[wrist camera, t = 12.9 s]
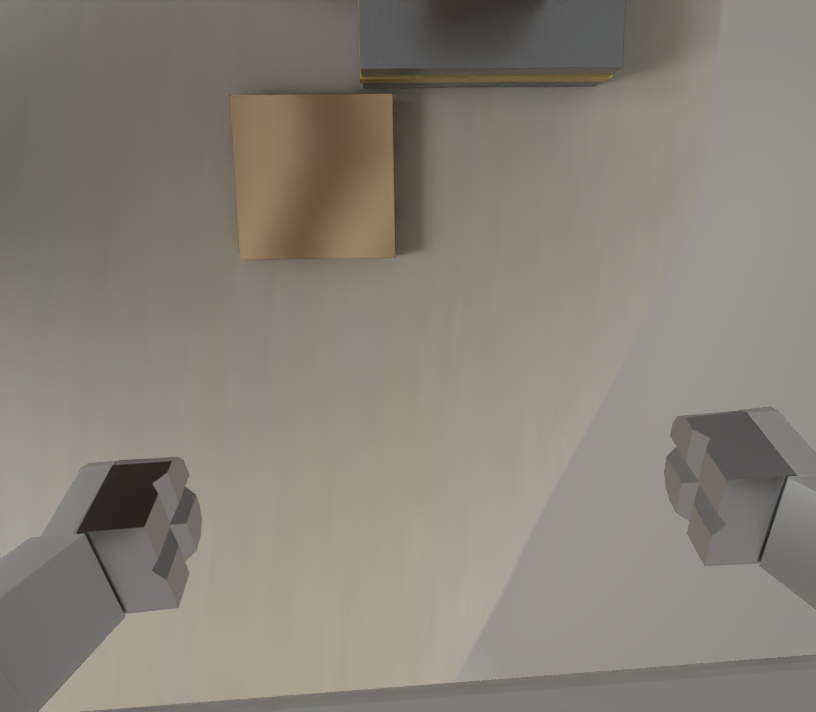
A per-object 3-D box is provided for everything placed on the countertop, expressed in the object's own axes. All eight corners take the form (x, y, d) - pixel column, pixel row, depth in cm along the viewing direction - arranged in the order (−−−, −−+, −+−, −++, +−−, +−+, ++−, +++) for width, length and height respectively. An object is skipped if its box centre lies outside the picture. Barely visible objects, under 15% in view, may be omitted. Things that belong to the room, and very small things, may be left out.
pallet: (246, 258, 34) (239, 259, 33) (236, 101, 33) (229, 95, 31) (395, 256, 35) (395, 257, 33) (392, 99, 33) (392, 93, 32)
